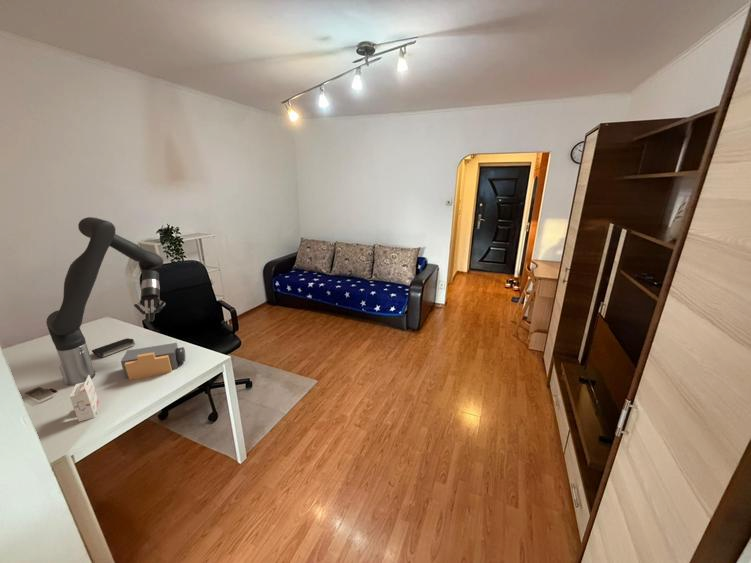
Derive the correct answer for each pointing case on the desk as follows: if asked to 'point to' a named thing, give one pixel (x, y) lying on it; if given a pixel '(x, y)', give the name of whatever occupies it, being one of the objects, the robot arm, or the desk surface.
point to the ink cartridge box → (84, 400)
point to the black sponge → (113, 347)
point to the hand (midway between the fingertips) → (150, 321)
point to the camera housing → (156, 354)
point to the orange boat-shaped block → (148, 366)
